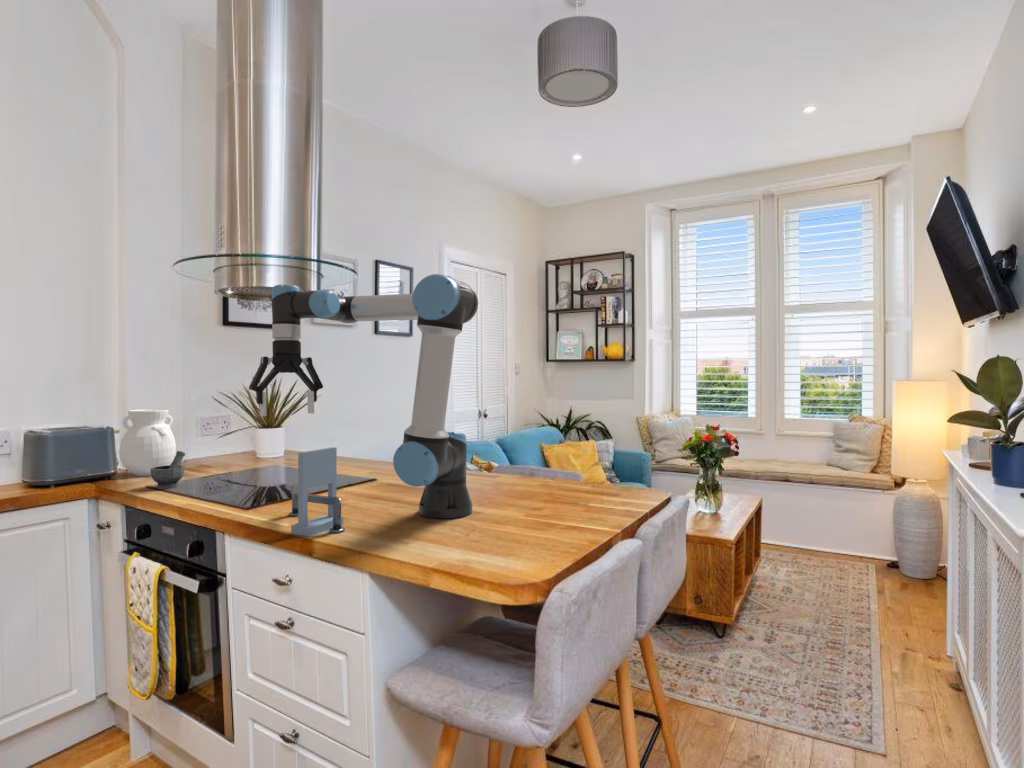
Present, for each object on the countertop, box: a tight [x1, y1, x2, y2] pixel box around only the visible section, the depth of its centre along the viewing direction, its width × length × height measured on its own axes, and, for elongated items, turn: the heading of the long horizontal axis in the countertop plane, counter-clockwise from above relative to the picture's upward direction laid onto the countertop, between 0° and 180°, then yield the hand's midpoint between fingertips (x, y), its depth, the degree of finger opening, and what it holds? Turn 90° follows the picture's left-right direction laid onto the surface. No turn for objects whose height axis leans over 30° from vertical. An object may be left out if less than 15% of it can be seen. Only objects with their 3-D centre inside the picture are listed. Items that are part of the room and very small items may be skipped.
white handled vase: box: [118, 408, 177, 477], centre depth 219 cm, size 19×18×25 cm
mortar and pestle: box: [150, 450, 186, 490], centre depth 194 cm, size 11×9×12 cm
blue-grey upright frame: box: [290, 446, 344, 537], centre depth 142 cm, size 6×12×20 cm, turn 157°
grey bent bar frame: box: [288, 484, 346, 534], centre depth 147 cm, size 27×8×8 cm, turn 46°
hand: (287, 414), depth 161 cm, fingers open, 13 cm apart
